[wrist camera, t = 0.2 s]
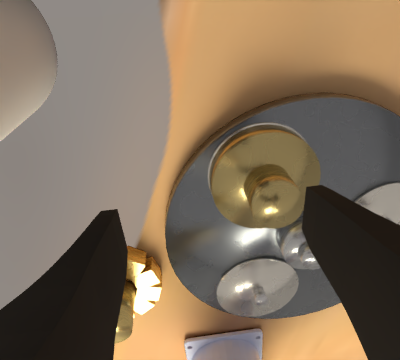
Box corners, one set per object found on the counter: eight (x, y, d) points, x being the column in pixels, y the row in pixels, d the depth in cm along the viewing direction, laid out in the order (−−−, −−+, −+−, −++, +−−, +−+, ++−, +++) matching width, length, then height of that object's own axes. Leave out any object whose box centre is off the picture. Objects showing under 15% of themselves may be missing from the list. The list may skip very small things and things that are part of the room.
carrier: (389, 291, 31) (428, 343, 27) (180, 321, 30) (184, 379, 26) (462, 76, 21) (548, 99, 16) (144, 111, 20) (138, 146, 15)
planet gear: (166, 298, 29) (167, 351, 24) (87, 309, 28) (73, 365, 24) (154, 240, 25) (153, 290, 21) (64, 251, 25) (43, 305, 20)
